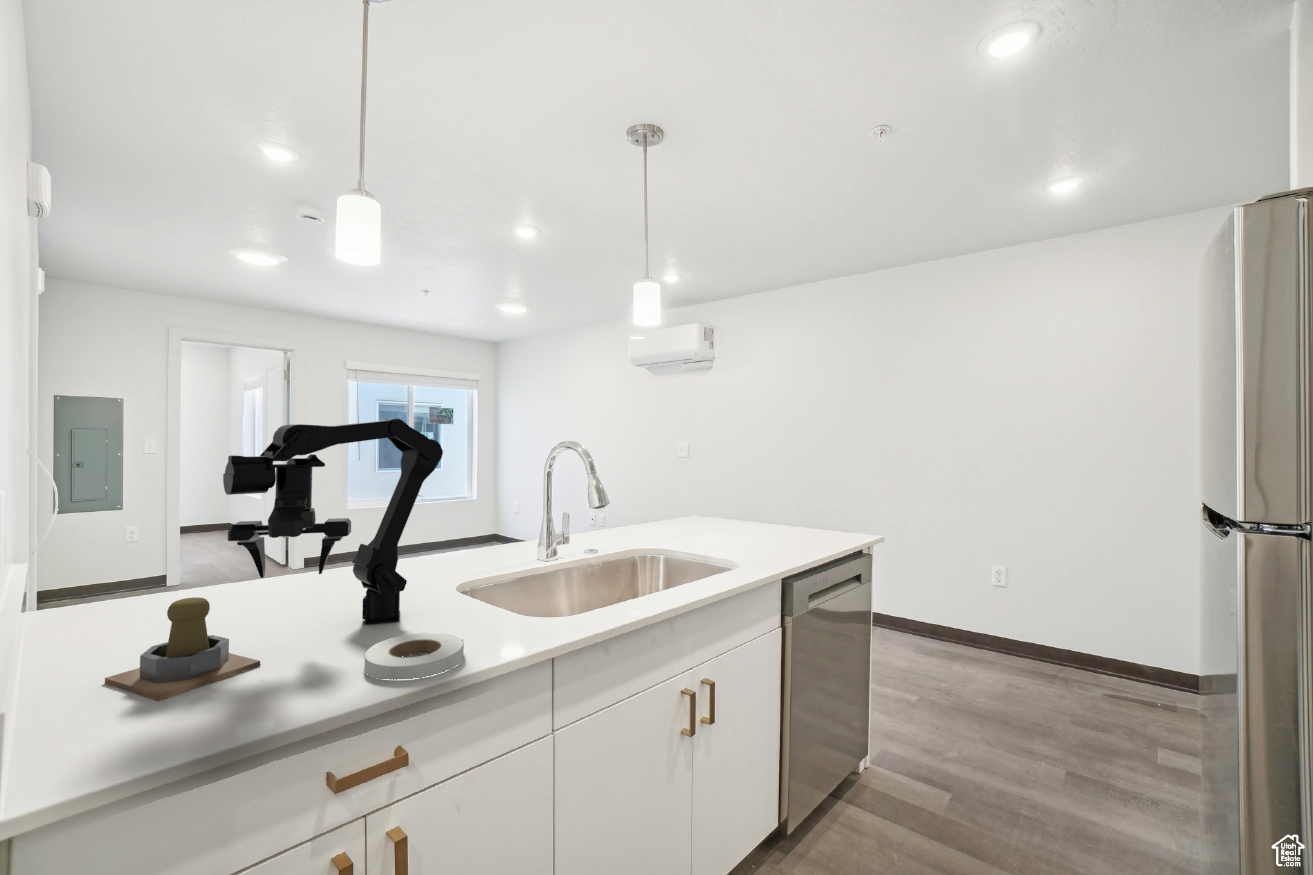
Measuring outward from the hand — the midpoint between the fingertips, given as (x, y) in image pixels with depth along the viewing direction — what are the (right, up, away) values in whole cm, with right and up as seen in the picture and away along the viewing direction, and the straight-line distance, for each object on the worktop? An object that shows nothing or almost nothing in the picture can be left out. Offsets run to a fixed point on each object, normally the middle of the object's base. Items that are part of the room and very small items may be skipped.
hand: (292, 575), depth 106 cm
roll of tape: (+27, -13, -9) cm, 31 cm away
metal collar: (-7, -12, -16) cm, 21 cm away
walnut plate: (-7, -12, -16) cm, 21 cm away
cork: (-7, -11, -16) cm, 20 cm away
